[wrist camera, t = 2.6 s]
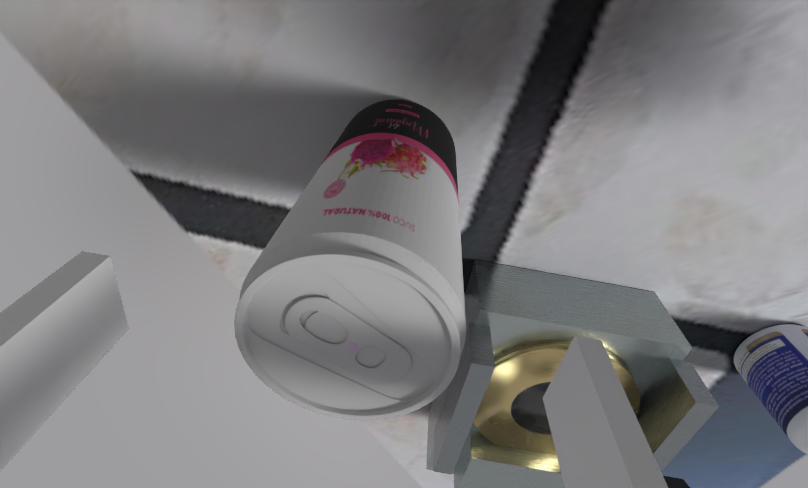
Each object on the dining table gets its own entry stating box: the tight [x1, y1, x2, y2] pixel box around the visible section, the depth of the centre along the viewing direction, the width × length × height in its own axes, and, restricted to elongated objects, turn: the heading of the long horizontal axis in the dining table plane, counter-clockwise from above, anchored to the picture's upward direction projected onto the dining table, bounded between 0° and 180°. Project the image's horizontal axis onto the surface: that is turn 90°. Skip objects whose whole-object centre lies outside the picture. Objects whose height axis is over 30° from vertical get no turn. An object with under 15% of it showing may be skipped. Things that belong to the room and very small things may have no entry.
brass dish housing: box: [427, 260, 719, 488], centre depth 28 cm, size 16×13×8 cm
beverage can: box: [235, 100, 466, 420], centre depth 18 cm, size 7×6×15 cm
